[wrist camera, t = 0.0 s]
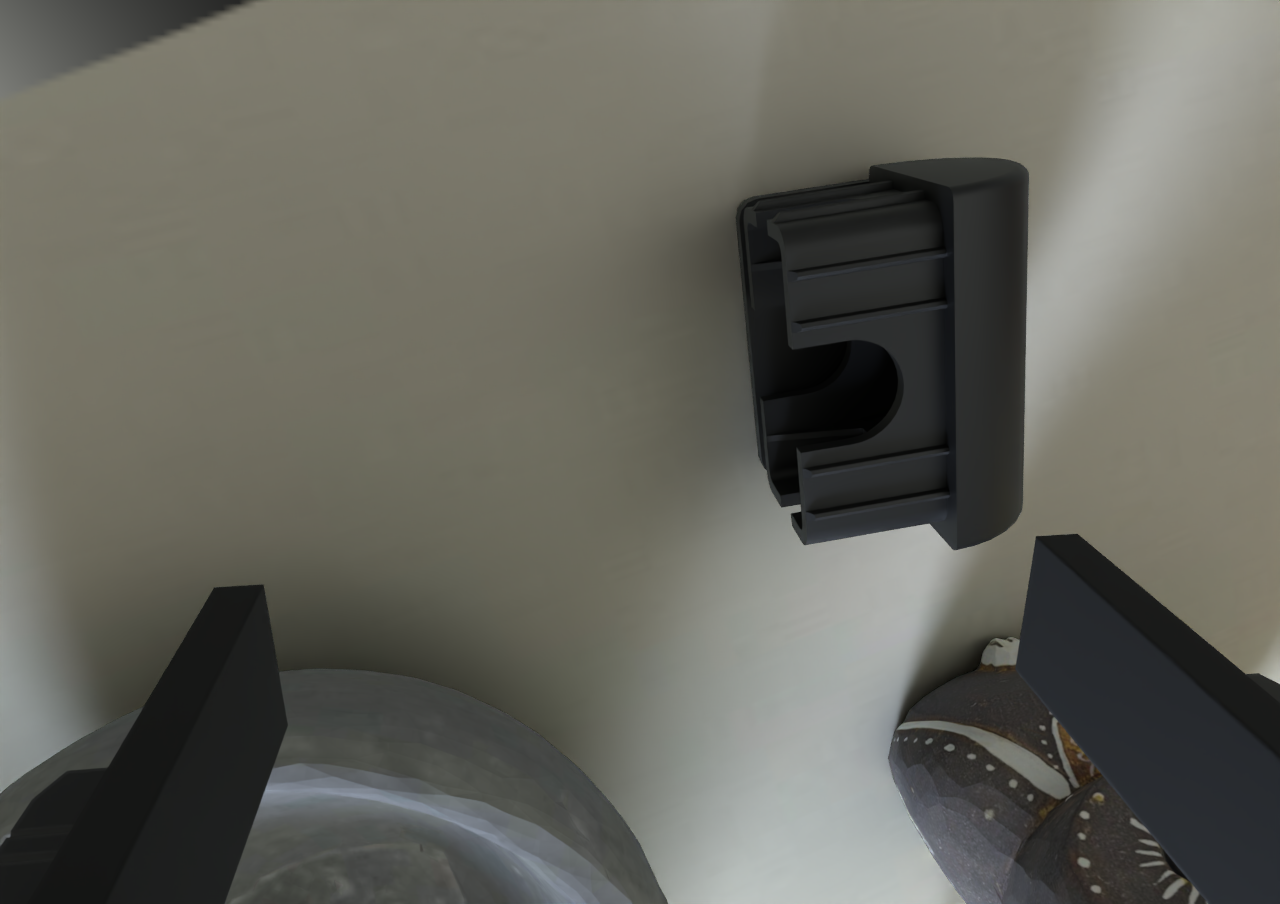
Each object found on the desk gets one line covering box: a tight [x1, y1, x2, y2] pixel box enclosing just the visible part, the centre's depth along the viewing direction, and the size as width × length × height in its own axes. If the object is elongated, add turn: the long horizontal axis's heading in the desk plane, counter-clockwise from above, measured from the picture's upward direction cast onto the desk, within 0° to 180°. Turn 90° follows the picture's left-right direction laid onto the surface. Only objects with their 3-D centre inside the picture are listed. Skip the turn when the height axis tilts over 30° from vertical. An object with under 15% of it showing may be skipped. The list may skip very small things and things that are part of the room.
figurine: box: [888, 637, 1208, 904], centre depth 32 cm, size 15×14×15 cm
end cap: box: [736, 158, 1029, 550], centre depth 28 cm, size 10×7×7 cm
